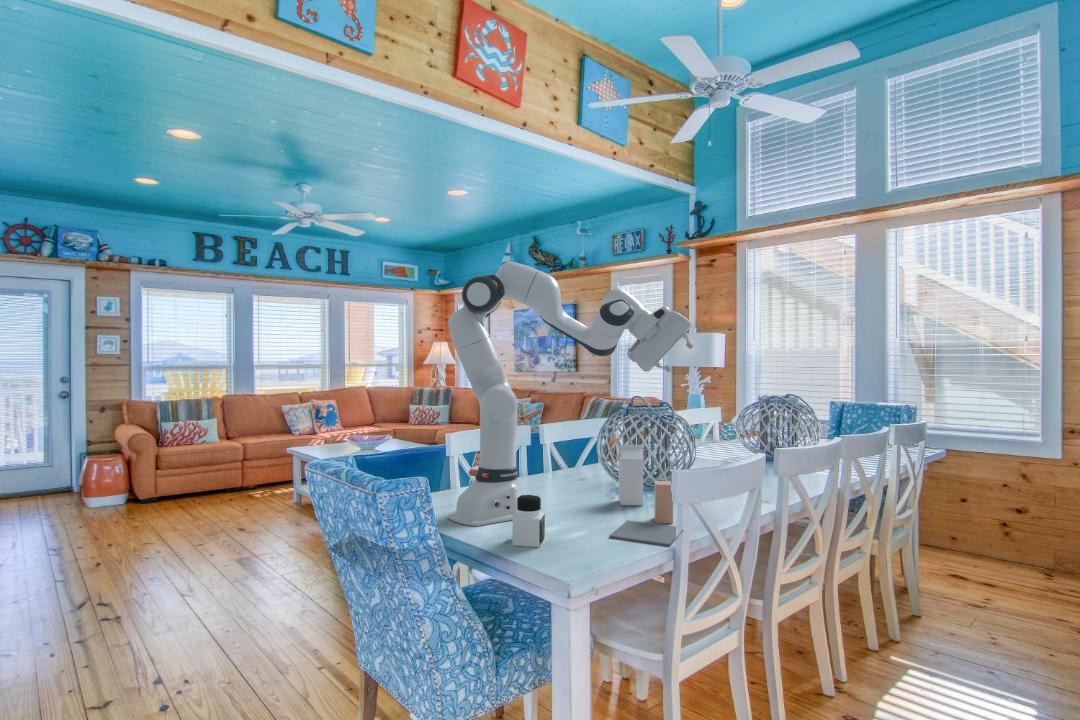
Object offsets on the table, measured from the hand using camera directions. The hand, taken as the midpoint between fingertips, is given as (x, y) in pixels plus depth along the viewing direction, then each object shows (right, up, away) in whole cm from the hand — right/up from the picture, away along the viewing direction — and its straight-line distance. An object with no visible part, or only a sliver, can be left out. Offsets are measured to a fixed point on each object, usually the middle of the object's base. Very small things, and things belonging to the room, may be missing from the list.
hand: (680, 359), depth 176 cm
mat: (-13, -47, -16) cm, 51 cm away
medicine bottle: (-45, -47, -24) cm, 69 cm away
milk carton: (-12, -47, +17) cm, 51 cm away
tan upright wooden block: (-6, -47, -4) cm, 48 cm away
